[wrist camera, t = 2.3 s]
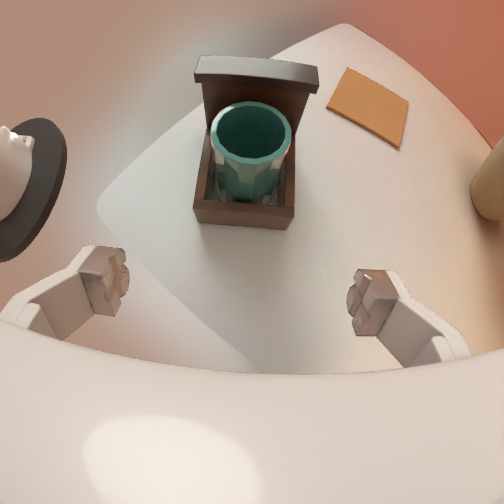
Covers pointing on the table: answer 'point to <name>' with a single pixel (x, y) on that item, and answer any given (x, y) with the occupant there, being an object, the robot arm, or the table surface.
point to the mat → (370, 106)
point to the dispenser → (254, 90)
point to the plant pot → (490, 185)
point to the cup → (249, 151)
